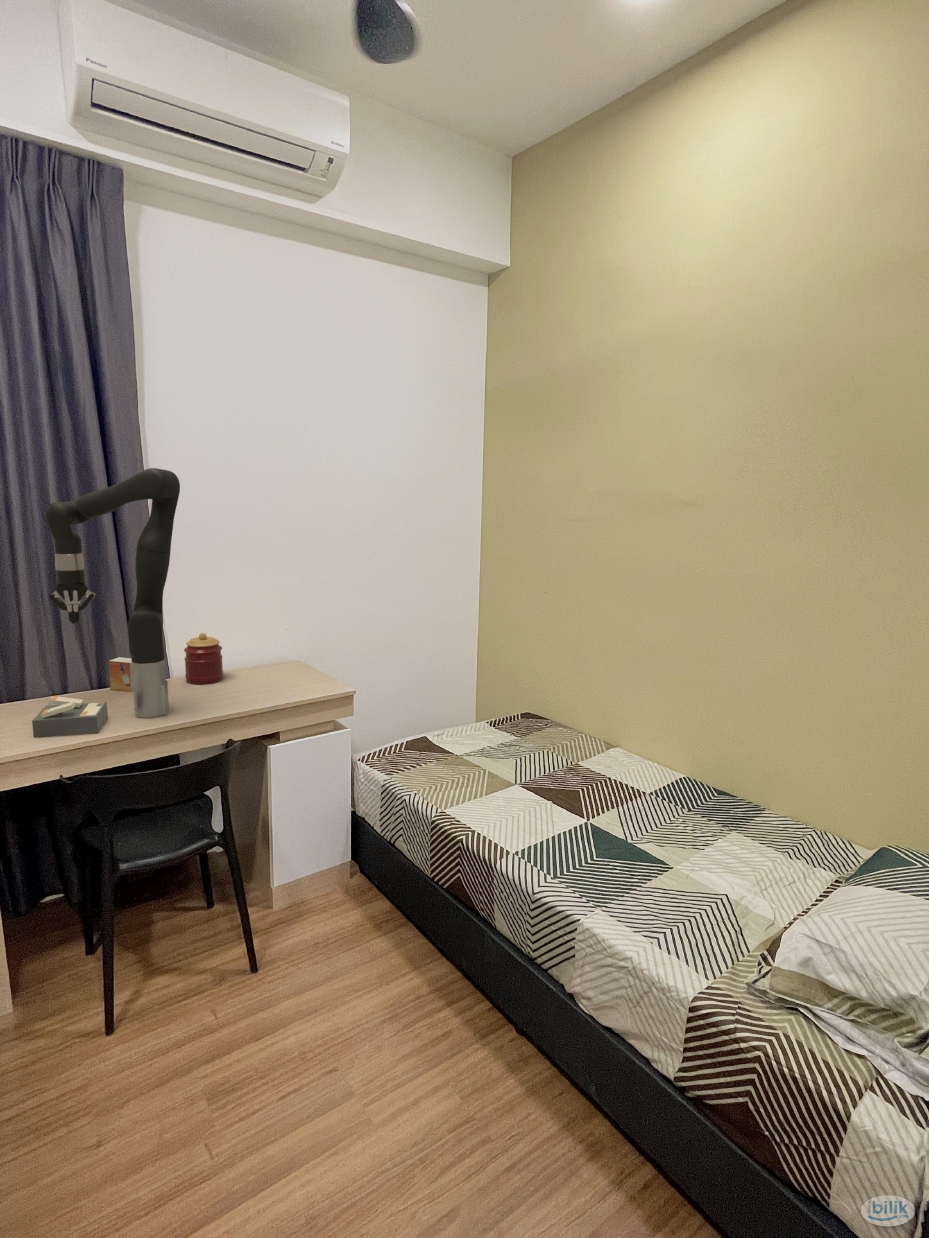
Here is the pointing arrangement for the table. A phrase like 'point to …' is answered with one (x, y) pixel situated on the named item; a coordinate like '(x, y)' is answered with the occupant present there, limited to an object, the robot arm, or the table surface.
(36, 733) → the box
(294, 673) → the table surface
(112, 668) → the small box
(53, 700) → the rocker
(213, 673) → the canister
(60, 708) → the rocker
